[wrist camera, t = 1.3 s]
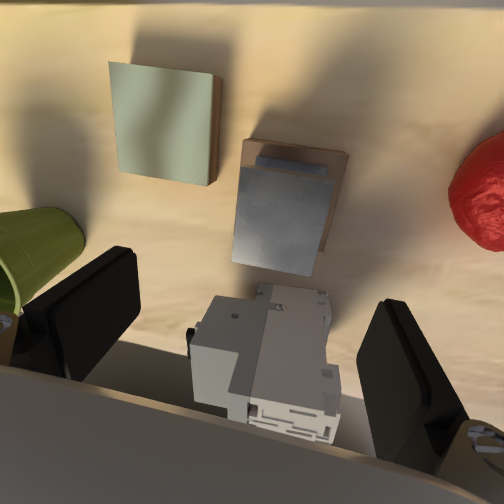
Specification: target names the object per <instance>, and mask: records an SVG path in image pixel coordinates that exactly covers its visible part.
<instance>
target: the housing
mask: <svg viewBox="0 0 504 504" xmlns="http://www.w3.org/2000/svg"><path fill="white" fill-rule="evenodd" d="M328 169H329V167H328V165H323V164H316V163H310V162H303V161H296V160H290V159H283V158H277V157H270V156H263V155H257V156H256V161H255V165H249V164H244V165H242V166H241V170H240V180H239V190H238V200H237V211H236V221H235V231H234V241H233V251H232V261H231V262H236V263H241V264H246V265H251V266H256V267H261V268H266V269H272V270H277V271H282V272H287V273H292V274H297V275H302V276H307V277H311V274H312V271H313V267H314V263H315V259H316V255H317V251H318V247H319V244H320V240H321V236H322V232H323V228H324V224H325V220H326V217H327V213H328V209H329V205H330V201H331V197H332V193H333V190H334V186H335V182H336V181H335V179H334V178H332V177H327V173H328Z"/></svg>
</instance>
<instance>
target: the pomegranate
mask: <svg viewBox="0 0 504 504" xmlns="http://www.w3.org/2000/svg"><path fill="white" fill-rule="evenodd" d="M448 190H449V192H448V198H449V204H450V208H451V209H452V212H453V216H454V220H455V221H456V223H457V224H458V226H459V227H460V229H461V230H462V231H463V232H464V233H465V234H466V235H468V236H469V237H470V238H471V239H472V240H473V241H474V242H476V243H477V244H478V245H479V246H481V247H482V248H484V249H486V250H491V251H494V252H500V251H504V131H503V132H501V133H499V134H497V135H496V136H493V137H490V138H488V139H487V140H485V141H483V142H482V143H480V144H479V145H478V146H477V147H476V148H475V149H474V150H473V151H472V153H471V154H470V155H469V156H468V157H467V158H466V159H465V161H464V162H463V164H462V165H461V167H460V168H459V169H458V170H457V172H456V174H455V176H454V179H453V180H452V182H451V184H450V186H449V188H448Z"/></svg>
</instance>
